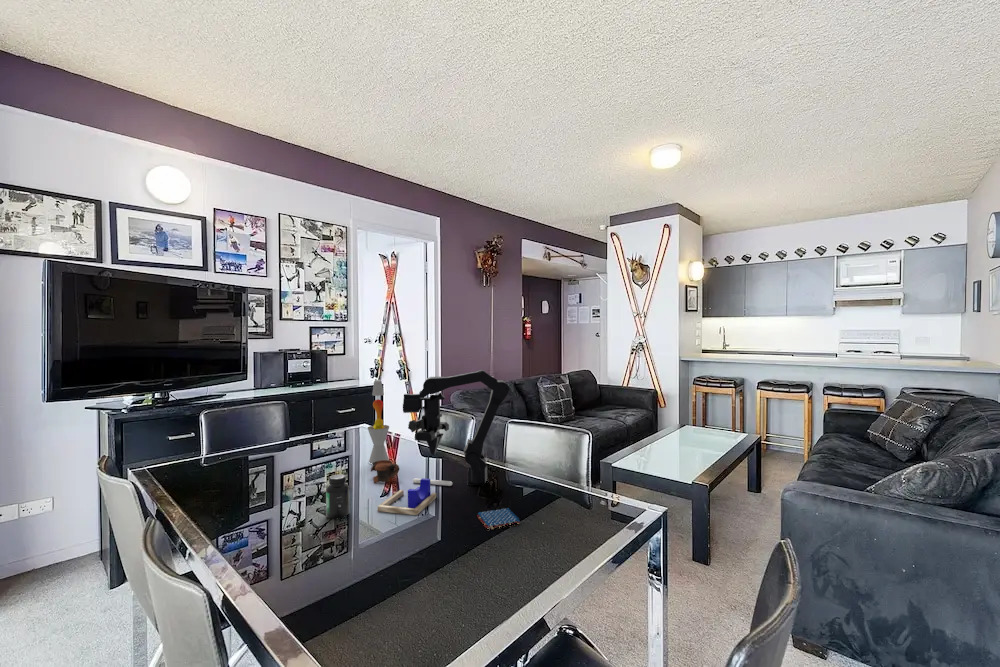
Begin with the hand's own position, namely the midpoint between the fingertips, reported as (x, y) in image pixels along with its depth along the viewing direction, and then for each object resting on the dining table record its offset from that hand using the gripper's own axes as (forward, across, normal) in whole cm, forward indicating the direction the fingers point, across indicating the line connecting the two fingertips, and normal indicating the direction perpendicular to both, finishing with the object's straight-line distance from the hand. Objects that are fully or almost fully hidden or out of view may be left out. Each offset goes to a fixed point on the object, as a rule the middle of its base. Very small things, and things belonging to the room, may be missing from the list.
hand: (433, 454), depth 171 cm
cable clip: (+12, +16, +1) cm, 20 cm away
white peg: (+11, -1, -1) cm, 11 cm away
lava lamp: (+11, -23, -34) cm, 42 cm away
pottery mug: (+11, -3, -21) cm, 24 cm away
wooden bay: (+11, +18, -1) cm, 22 cm away
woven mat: (+12, +25, +30) cm, 41 cm away
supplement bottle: (+11, +32, -19) cm, 39 cm away
